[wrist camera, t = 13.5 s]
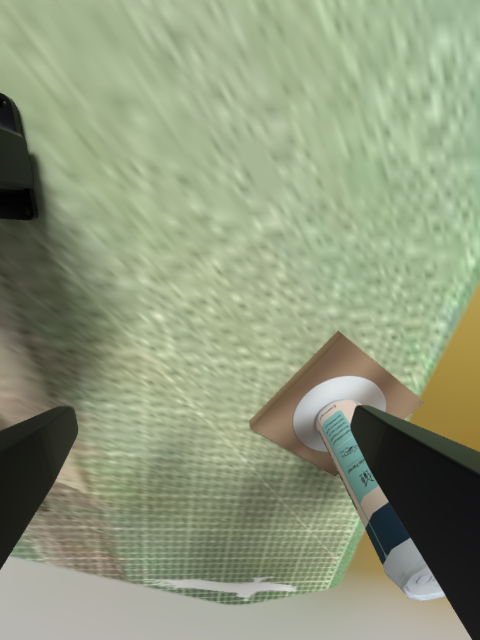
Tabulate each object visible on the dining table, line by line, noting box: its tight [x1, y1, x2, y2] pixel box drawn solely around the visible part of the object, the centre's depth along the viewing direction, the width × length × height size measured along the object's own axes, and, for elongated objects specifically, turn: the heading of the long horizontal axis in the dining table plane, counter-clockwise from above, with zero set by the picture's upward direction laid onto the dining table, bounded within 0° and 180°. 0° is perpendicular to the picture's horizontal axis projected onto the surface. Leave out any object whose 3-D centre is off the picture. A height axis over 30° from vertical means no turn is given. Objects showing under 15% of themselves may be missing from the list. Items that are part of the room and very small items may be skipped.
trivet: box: [250, 331, 424, 476], centre depth 25 cm, size 12×12×1 cm
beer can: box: [316, 399, 445, 601], centre depth 19 cm, size 5×5×12 cm
